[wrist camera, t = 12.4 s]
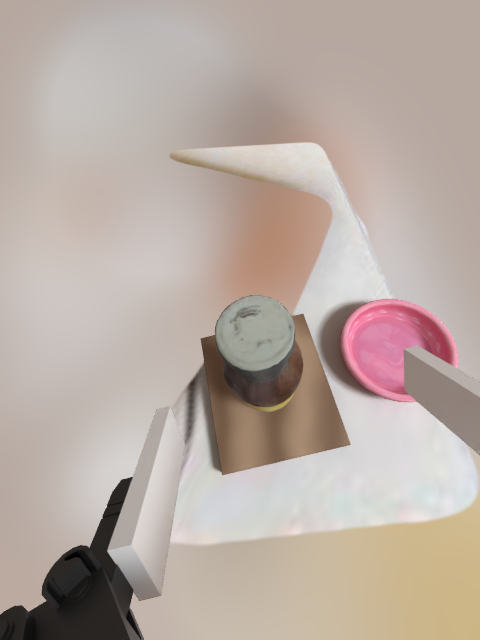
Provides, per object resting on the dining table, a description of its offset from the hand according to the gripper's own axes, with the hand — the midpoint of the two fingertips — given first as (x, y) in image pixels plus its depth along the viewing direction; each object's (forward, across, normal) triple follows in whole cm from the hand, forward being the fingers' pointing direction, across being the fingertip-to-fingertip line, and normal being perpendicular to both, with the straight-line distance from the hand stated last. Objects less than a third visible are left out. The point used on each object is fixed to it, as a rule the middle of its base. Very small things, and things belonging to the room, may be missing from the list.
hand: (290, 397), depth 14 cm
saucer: (+16, +15, -10) cm, 24 cm away
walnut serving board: (+16, 0, -10) cm, 18 cm away
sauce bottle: (+14, 0, -9) cm, 17 cm away
